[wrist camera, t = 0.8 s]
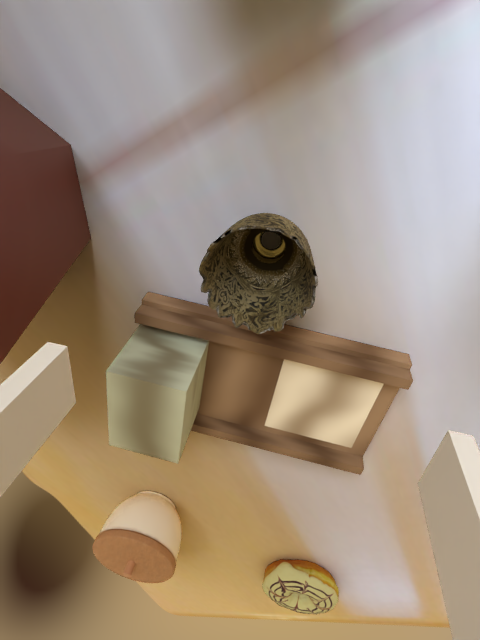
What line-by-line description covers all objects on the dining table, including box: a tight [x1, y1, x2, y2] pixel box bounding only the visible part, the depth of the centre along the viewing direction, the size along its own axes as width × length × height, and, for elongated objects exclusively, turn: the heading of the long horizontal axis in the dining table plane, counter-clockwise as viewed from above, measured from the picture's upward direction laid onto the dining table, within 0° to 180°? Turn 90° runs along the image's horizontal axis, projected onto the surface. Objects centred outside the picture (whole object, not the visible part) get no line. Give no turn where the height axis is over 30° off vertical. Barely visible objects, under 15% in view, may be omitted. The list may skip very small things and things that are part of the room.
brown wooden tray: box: [106, 292, 413, 475], centre depth 35 cm, size 24×14×8 cm, turn 81°
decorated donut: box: [262, 559, 339, 614], centre depth 56 cm, size 10×11×4 cm
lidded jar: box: [93, 491, 182, 583], centre depth 51 cm, size 11×11×9 cm
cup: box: [199, 213, 318, 334], centre depth 27 cm, size 7×7×8 cm
